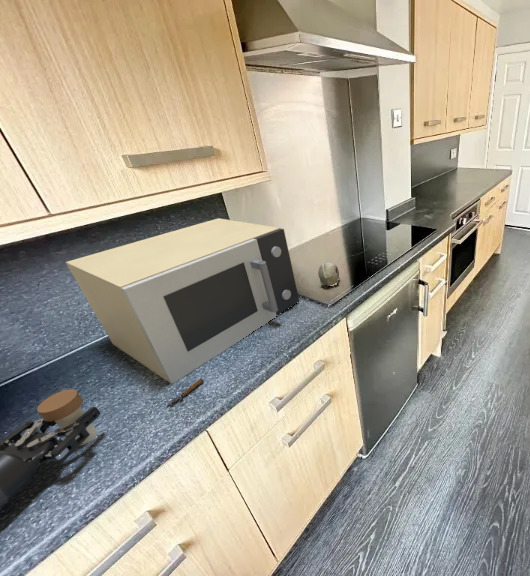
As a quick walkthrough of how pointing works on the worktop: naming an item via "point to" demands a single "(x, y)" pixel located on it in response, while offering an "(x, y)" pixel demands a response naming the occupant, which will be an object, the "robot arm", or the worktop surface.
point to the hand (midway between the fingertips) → (81, 408)
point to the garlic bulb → (328, 274)
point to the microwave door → (203, 307)
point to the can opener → (186, 392)
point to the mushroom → (65, 411)
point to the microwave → (162, 257)
